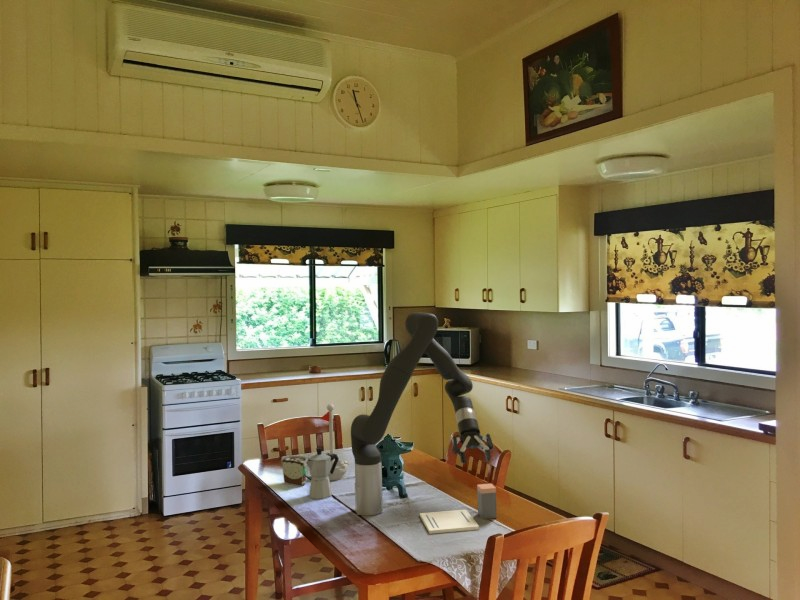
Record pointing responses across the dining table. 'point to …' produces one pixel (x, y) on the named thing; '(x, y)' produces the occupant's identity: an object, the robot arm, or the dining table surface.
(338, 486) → the dining table surface
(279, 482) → the dining table surface
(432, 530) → the notepad
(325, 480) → the coffee maker
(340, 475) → the flag stand
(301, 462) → the food container
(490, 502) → the grey pink block
